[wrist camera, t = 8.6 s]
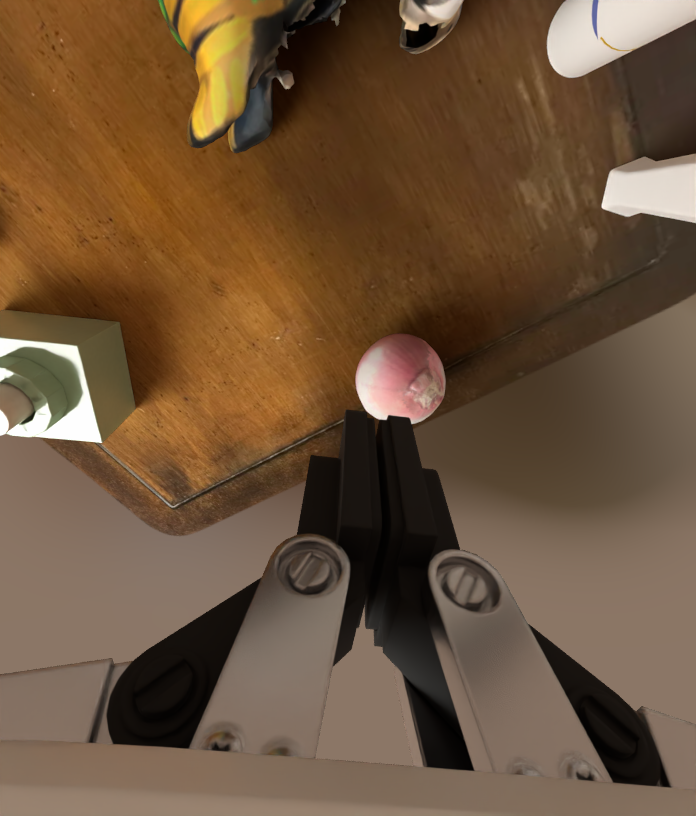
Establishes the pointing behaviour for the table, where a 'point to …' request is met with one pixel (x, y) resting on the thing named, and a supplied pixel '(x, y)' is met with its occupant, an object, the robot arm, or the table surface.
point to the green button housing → (66, 374)
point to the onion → (400, 378)
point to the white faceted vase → (653, 188)
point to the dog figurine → (266, 55)
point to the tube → (609, 30)
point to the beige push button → (13, 407)
